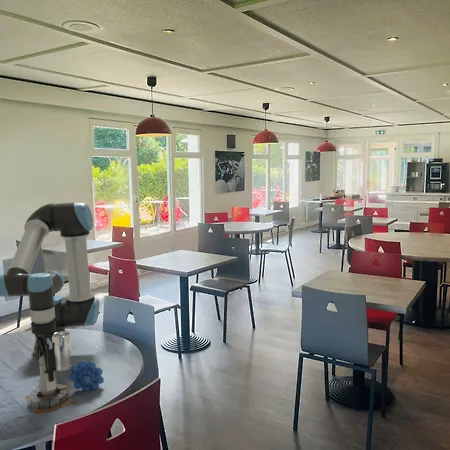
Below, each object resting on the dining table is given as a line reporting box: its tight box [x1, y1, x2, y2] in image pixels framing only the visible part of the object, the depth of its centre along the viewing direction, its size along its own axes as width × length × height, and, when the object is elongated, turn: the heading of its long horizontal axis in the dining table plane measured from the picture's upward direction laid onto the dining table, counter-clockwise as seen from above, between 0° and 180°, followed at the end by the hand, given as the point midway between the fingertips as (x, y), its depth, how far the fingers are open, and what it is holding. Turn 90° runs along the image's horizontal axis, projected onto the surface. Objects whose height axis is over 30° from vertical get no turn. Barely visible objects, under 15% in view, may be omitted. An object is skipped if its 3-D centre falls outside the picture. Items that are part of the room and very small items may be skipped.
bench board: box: [24, 394, 76, 417], centre depth 156 cm, size 16×12×1 cm
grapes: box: [68, 359, 105, 392], centre depth 161 cm, size 12×7×12 cm, turn 106°
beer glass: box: [52, 330, 72, 372], centre depth 179 cm, size 7×7×15 cm
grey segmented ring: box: [27, 383, 70, 410], centre depth 155 cm, size 12×12×3 cm
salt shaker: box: [38, 355, 58, 396], centre depth 154 cm, size 6×6×13 cm
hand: (48, 385), depth 155 cm, fingers closed on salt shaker, 6 cm apart
